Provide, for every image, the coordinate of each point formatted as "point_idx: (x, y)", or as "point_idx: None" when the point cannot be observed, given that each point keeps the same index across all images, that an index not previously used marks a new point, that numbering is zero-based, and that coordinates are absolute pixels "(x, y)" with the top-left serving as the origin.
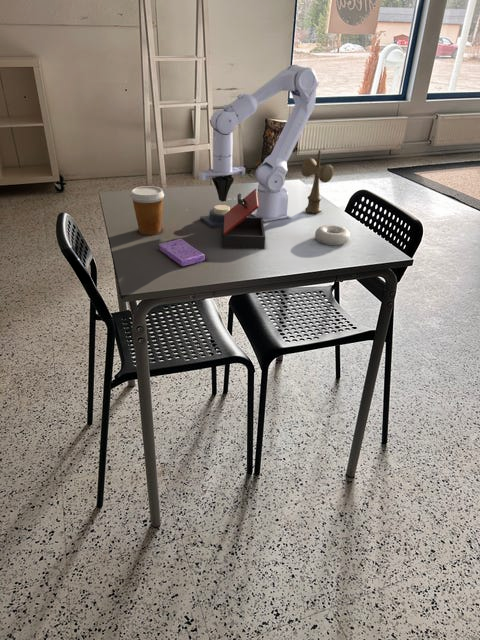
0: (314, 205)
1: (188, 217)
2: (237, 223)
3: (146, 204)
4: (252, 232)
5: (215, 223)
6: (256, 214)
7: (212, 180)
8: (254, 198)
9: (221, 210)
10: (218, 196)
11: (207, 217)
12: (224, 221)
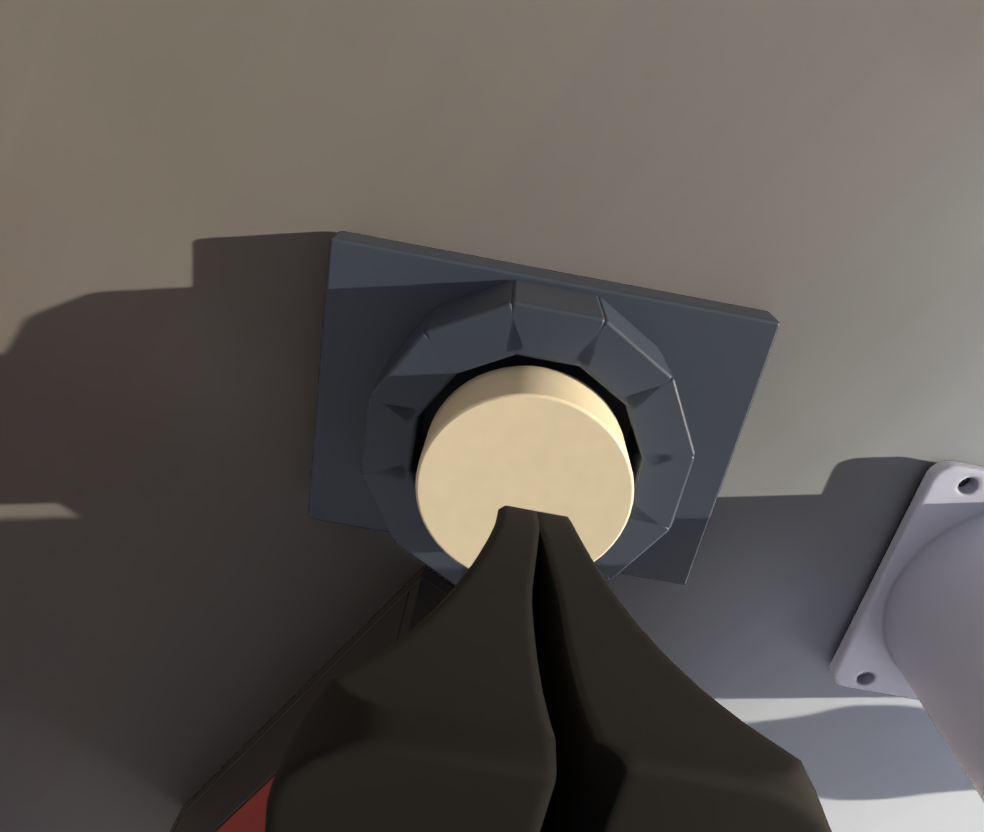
0: None
1: (244, 59)
2: None
3: None
4: None
5: (356, 511)
6: (936, 539)
7: (346, 678)
8: None
9: (450, 555)
10: (493, 529)
11: (385, 321)
12: (268, 788)
